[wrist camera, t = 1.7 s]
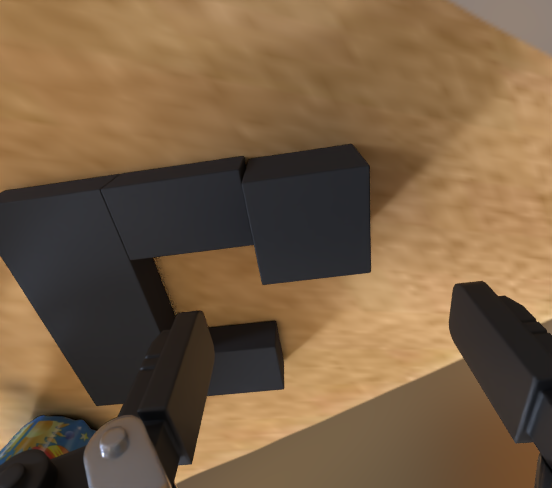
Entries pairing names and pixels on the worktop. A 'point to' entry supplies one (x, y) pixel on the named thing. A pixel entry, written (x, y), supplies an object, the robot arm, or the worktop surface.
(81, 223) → the base pad
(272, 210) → the small block
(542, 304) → the worktop surface
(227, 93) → the worktop surface
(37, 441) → the snack cup
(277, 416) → the worktop surface
